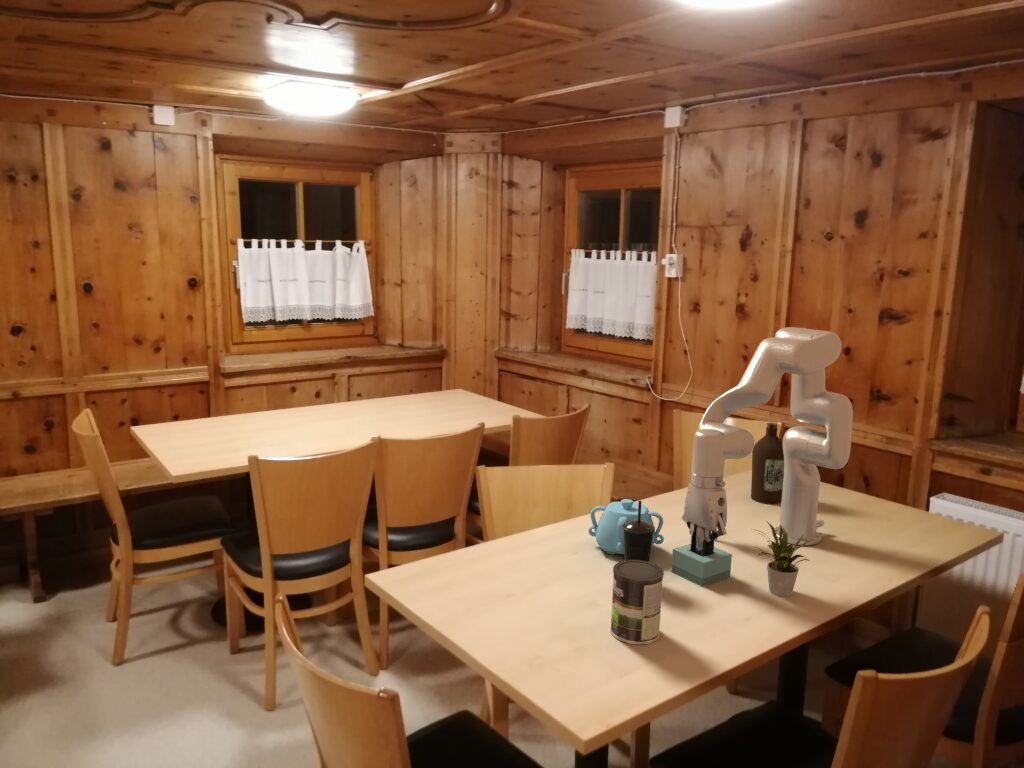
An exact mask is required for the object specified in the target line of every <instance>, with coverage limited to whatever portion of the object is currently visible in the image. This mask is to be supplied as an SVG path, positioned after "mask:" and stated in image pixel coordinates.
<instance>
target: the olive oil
mask: <svg viewBox="0 0 1024 768" xmlns="http://www.w3.org/2000/svg"><path fill="white" fill-rule="evenodd" d="M778 429H779V428H778V423H776V422H767V423H766V428H765V435H764V436H763V437H761V438H760V439H759V440H758V441H757V442H756V443H754V448H753V450H752V451H751V456H752V457H751V487H750V492H751V493H750V498H751V500H753V501H755V502H758V503H761V504H764V505H765V504H767V505H768V504H769V505H775V504H781V501H782V490H783V479H784V454H783V440H781V439H780V438H779V437H778Z"/></svg>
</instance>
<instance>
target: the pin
mask: <svg viewBox="0 0 1024 768" xmlns="http://www.w3.org/2000/svg"><path fill="white" fill-rule="evenodd" d="M704 540H706V537H705V528H703V527H701V526H698V525H697V528H696V543H695V554H697V555H700V556H702V557H704V556H703V555H702V553H703V541H704Z"/></svg>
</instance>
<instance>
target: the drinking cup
mask: <svg viewBox="0 0 1024 768" xmlns="http://www.w3.org/2000/svg"><path fill="white" fill-rule="evenodd" d="M641 504H642V500H638V520H634V521H630V522H626V523H624V524H623V529H624V548H625V555H624V561H625V560H642V561H647V562H650V558H651V551H652V550H651V549H652V548H651V545H652V538H653V532H654V531H655V532H656V527H655V525H654V526H653V525H652V524H650V523H647V522H645V521H641Z"/></svg>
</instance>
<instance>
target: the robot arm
mask: <svg viewBox="0 0 1024 768" xmlns="http://www.w3.org/2000/svg"><path fill="white" fill-rule="evenodd" d="M842 345H843V344H842V340H841V338H840V337H839V335H838V334H836V333H835V332H833V331H830V330H822V329H821V330H820V329H811V328H805V327H796V326H795V327H793V326H789V327H787V326H786V327H781V328H779V329H778V330H777V331H776V333H775V334H774V337H767V338H765V339H763V340H762V341H760V343H759V344H758V346H757V347H756V350H755V352H754V353H753V355H752V358H751V359H750V361H749V363H748V365H747V367H746V369H745V371H744V373H743V375H742V377H741V378H740V380H739V382H738V384H737V385H736V386H734V387H732V388H730V389H728V390H727V391H725V392H723V394H721V395H720V396H718V397H717V398H716V399H715V400H713V401H712V402H711V404H710V405H709V406H708V407H707V409H706V411H705V412H704V414H703V416H702V418H701V420H700V422H699V424H698V427H697V430H696V431H695V432H694V434H693V441H692V444H693V445H692V457H691V458H692V461H691V473H690V476H691V477H690V482H689V483H688V486H687V490H686V495H685V502H684V508H683V509H684V511H683V512H684V513H683V514H682V516H681V520H682V521H684V523H685V524H686V526H687V528H688V529H689V530H688V531H689V532H688V533H689V535H690V544H691V551H695V543H696V528H697V525H698V526H701V527H703V528H705V537H706V540H704V541H703V553H702V555H703V556H707V555H711V554H713V551H714V547H715V541H716V540H717V539H718V538H719V537H722V536H726V535H727V530H726V527H727V522H728V503H727V491H726V488H725V486H726V481H724V472H725V460H727V459H728V460H729V459H730V460H731V459H733V460H738V459H739V460H740V459H743V458H746V457H747V456H749V455H750V454H752V451H753V448H754V446H755V438H754V435H753V434H752V433H751V432H750V431H748V430H747V429H745V428H742V427H739V426H738V427H737V426H734V425H730V424H725V423H724V422H725V421H726V420H727V419H728V418H729V417H730V416H731V415H733V414H734V413H736V412H738V411H741V410H744V409H747V408H752V407H755V406H759V405H763V404H765V403H768V402H770V400H771V398H772V397H773V394H774V392H775V390H776V388H777V387H778V384H779V382H780V381H781V379H782V377H783V375H784V374H786V373H787V374H791V385H790V407H789V408H790V414H791V415H790V416H791V418H793V419H794V420H795V421H796V422H800V423H803V424H807V425H812V426H817V427H821V428H825V430H822V429H818V428H814V427H810V426H805V425H804V426H803V425H794V426H793V427H790V428H789V429H787V430H786V431H785V433H784V434H783V437H782V443H783V454H784V479H783V490H782V500H781V502H780V515H779V526H776V527H775V528H774V529H775V532H776V535H777V539H778V540H779V532H780V524H781V526H782V528H784V529H785V531H786V533H788V535H787V537H788V544H789V545H790V544H794V545H795V544H796V543H797V542H798V540H799V539H800V538H801V537H802V536H803V535H804V536H803V537H802V539H801V541H800V542H799V543H798V545H797V546H801V545H802V544H804V543H806V542H807V541H810V540H815V541H810V542H808V543H806V544H805V545H804V546H814V545H817V544H819V543H820V542H821V540H822V536H821V535H820V533H818V532H817V530H818V528H821V527H824V525H825V521H824V520H823V519H819V520H818V519H817V517H818V508H819V507H818V506H819V497H820V487H821V475H820V472H819V469H818V467H821V468H822V467H823V468H826V469H831V470H839V469H840V470H841V469H842V468H844V467H845V466H846V464H847V463H848V461H849V458H850V454H851V448H852V447H851V446H852V435H853V434H852V432H853V422H854V421H853V418H854V416H853V415H854V411H853V405H852V402H851V400H850V399H849V397H847V395H844V394H842V393H837V392H833V391H827V389H826V369H825V368H826V367H828V366H830V365H832V364H833V363H836V361H837V360H838V358H839V357H840V354H841V353H842V347H843V346H842ZM789 530H790V531H789ZM711 533H712V534H711ZM782 538H783V536H782Z"/></svg>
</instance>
